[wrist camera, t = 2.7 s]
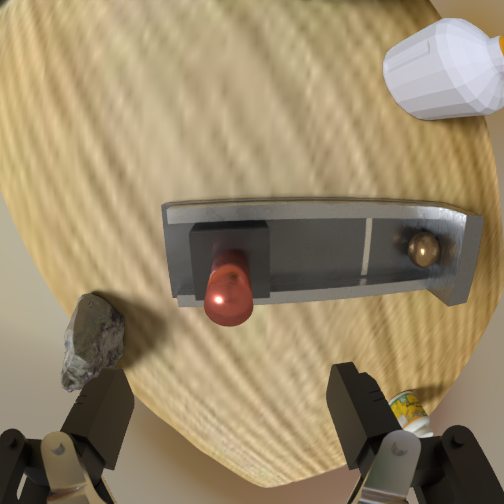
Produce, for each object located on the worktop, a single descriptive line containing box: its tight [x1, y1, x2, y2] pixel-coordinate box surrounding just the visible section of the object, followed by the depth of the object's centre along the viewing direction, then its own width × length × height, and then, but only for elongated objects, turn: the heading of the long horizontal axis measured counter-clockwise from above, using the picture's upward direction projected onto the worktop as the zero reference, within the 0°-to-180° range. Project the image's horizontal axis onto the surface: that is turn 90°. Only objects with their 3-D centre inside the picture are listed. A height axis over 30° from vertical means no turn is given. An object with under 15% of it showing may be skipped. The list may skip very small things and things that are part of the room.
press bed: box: [161, 197, 484, 307], centre depth 23 cm, size 9×30×8 cm, turn 91°
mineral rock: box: [61, 293, 125, 392], centre depth 24 cm, size 13×11×10 cm
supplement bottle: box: [389, 391, 433, 438], centre depth 31 cm, size 5×5×10 cm
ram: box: [188, 220, 270, 327], centre depth 20 cm, size 6×6×10 cm
